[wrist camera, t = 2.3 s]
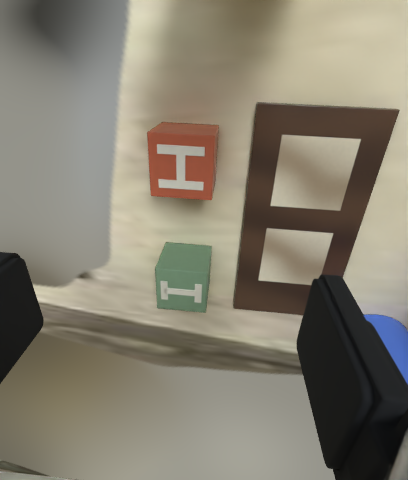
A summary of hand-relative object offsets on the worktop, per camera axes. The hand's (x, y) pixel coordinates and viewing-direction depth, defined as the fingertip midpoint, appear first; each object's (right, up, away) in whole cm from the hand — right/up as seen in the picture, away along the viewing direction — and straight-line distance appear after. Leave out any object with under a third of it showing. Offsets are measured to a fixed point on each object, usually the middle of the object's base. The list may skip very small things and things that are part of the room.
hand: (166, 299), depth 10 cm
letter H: (0, +9, +14) cm, 17 cm away
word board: (+10, +3, +17) cm, 20 cm away
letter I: (0, 0, +20) cm, 20 cm away
